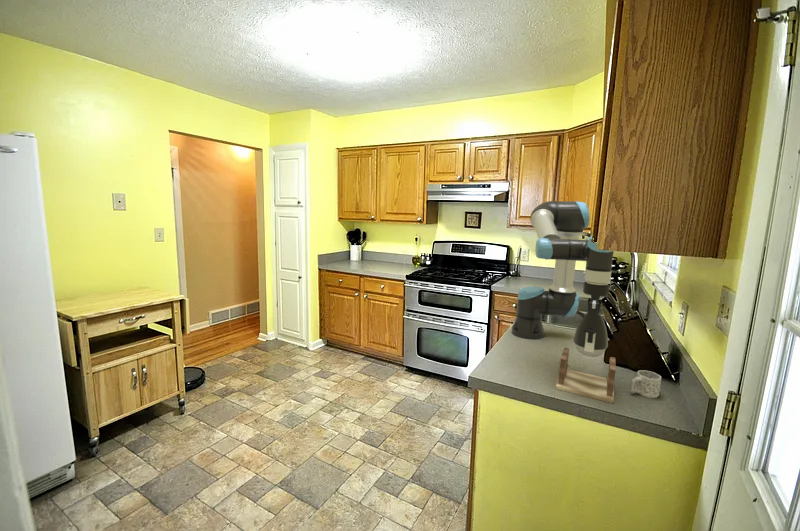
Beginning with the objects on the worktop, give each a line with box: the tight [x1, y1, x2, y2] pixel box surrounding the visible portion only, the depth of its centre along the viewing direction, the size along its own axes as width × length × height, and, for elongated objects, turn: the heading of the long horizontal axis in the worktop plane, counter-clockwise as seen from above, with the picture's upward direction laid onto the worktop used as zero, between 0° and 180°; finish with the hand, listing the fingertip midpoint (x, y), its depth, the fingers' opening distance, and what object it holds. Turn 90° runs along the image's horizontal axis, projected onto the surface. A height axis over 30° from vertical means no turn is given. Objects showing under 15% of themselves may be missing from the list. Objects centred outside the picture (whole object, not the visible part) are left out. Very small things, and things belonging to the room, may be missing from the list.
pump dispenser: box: [573, 310, 609, 358], centre depth 121 cm, size 10×10×15 cm
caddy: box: [555, 347, 617, 404], centre depth 123 cm, size 16×17×10 cm
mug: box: [629, 369, 662, 399], centre depth 119 cm, size 10×7×7 cm, turn 102°
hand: (589, 346), depth 122 cm, fingers closed on pump dispenser, 10 cm apart
